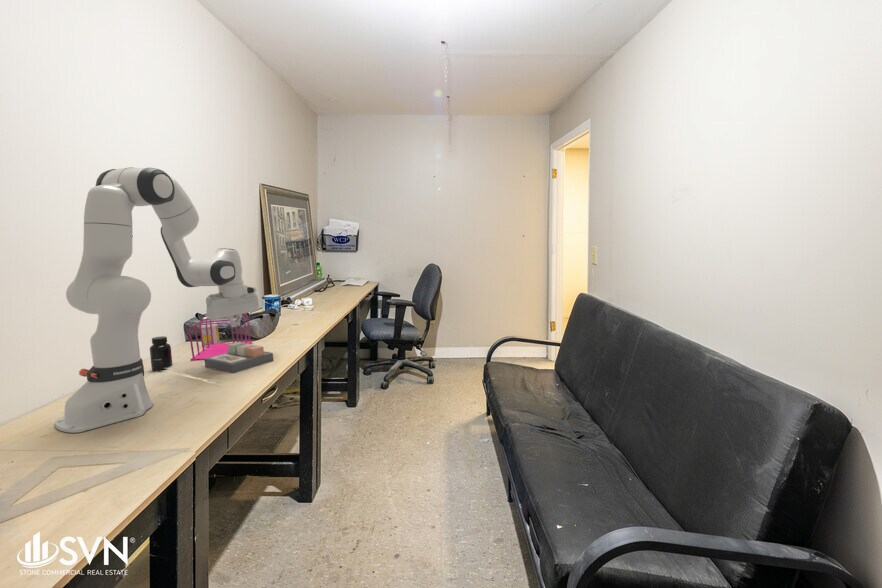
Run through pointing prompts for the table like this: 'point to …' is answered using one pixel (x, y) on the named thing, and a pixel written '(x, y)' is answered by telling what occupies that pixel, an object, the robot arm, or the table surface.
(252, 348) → the key terracotta
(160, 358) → the supplement bottle
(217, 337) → the supplement bottle
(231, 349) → the key sage
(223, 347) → the file sorter
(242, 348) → the block
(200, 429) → the table surface
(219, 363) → the keypad base
